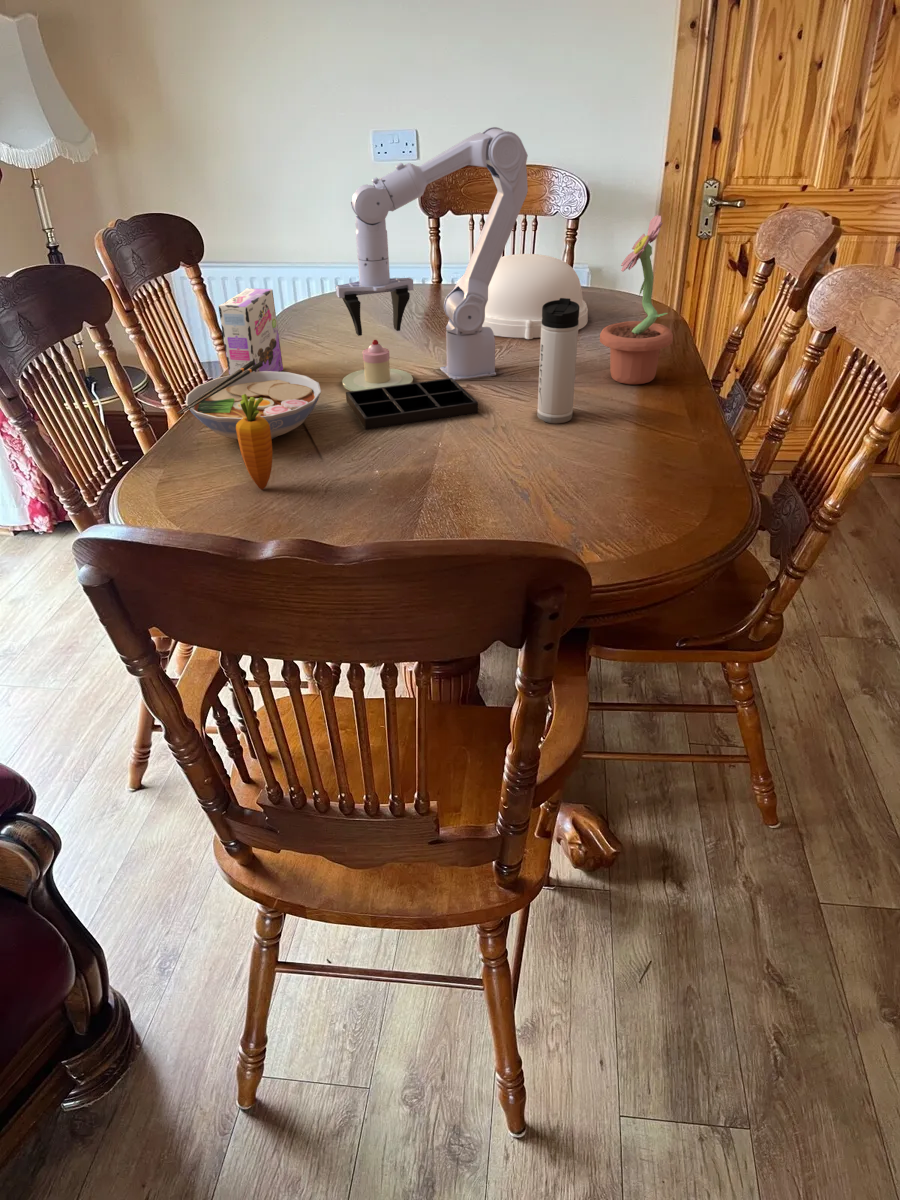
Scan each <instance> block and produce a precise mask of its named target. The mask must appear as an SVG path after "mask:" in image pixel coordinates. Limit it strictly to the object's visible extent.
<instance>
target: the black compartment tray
mask: <svg viewBox="0 0 900 1200" xmlns="http://www.w3.org/2000/svg"><path fill="white" fill-rule="evenodd" d="M345 398H346V404H347V406H348V407H349V408H350V410H351V411H352V412H353V414H354V415H355V417H356V418H357V420H358V422H359V423H360V424H361V426H362V427H363V429H364V430H365V431H369V430H370V431H371V430H377V429H382V428H383V429H384V428H390V427H397V426H403V425H409V424H416V423H417V424H418V423H423V422H429V421H437V420H443V419H450V418H457V417H464V416H471V415H477V414H479V402H478V401H477V400H476V399H475V398H474V397H473V396H472V395H471V394H469V393H468V392H467V390H466V389H464V388H463V387H462V386H461V385H460V384H459V383H458V382H457V380H454V379H452V378H449V377H448V378H441V379H433V380H426V381H417V382H413V383H410V384H403V385H395V386H388V387H380V388H373V389H366V390H358V391H346V392H345Z"/></svg>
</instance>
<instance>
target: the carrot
mask: <svg viewBox="0 0 900 1200" xmlns="http://www.w3.org/2000/svg"><path fill="white" fill-rule="evenodd" d="M241 397H242V401H241V402H240V404H241V407H242V409H243V411H244V413H245V415H246V417H244V418H243V419H241V420H240V421H239V422H238V423H237V424H236V432H237V437H238V439H237V442H238V447H239V451H240V454H241V457H242V460H243V463H244V465H245V467H246V471H247V472H248V474H249V476H250V478H251V479H252V481H253V482H254V484H255V485H256V486H257V487H258V489H260V490H261V491H263V490H265V488H266V487H267V485H268V483H269V480H270V478H271V473H272V469H273V443H272V442H273V441H272V440H273V439H271V431H270V425H269V423H268V422H267V421H266V420H265V419H264V418H263V417H260V416H257V414H258V413H259V411H258V410H256V409H257V407H258V405H259V403H260V402H261V401H262V400H263V398H261V397H260V398H259V399H258V400H257V401H256V403H255V398H254V397H250V399H249V401H248V398H247V395H246V394H243V395H242V396H241ZM254 403H255V405H254Z"/></svg>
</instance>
